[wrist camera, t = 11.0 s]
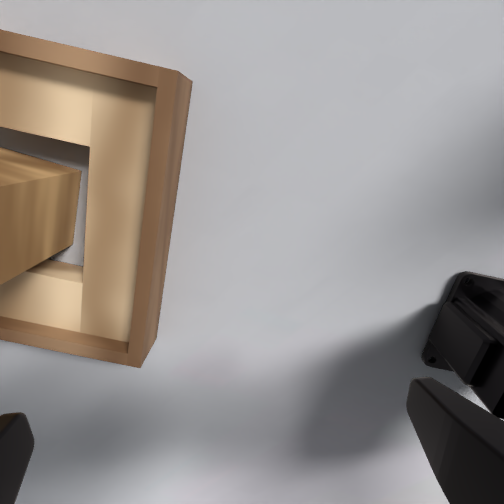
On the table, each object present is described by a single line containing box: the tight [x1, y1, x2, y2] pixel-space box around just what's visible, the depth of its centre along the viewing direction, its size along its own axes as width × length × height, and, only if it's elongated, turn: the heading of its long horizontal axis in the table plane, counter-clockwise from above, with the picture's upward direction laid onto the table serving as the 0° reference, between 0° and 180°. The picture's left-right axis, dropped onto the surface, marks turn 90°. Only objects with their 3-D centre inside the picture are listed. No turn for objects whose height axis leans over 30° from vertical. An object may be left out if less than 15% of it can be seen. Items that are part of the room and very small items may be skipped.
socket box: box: [0, 30, 192, 368], centre depth 18 cm, size 16×16×3 cm
